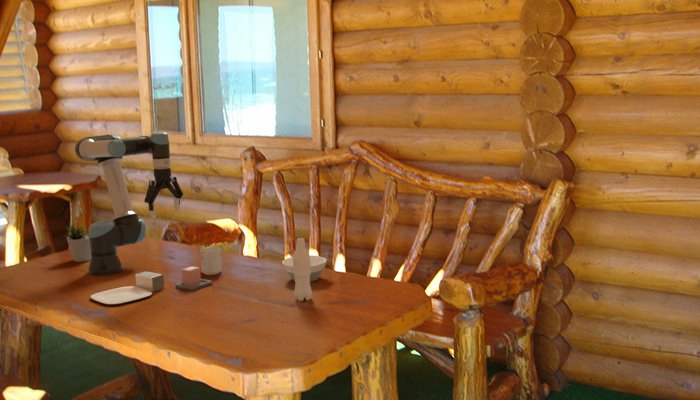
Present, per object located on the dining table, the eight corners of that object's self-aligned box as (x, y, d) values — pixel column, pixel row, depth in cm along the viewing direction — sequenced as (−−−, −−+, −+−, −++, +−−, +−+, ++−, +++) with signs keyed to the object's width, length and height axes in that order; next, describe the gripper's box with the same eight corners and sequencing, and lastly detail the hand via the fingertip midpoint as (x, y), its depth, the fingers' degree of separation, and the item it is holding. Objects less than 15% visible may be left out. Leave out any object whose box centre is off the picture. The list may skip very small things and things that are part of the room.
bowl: (301, 288, 346) (300, 269, 345) (274, 279, 361) (273, 261, 359) (336, 278, 359) (335, 260, 357) (308, 270, 373) (307, 253, 372)
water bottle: (314, 297, 332) (312, 237, 327) (308, 302, 325) (305, 241, 321) (298, 296, 334) (295, 236, 330) (291, 301, 327) (288, 240, 323)
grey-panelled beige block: (136, 287, 355) (135, 274, 353) (147, 284, 359) (146, 271, 358) (153, 291, 348) (152, 277, 347) (164, 288, 353) (163, 274, 352)
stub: (182, 285, 354) (181, 269, 353) (192, 281, 359) (191, 266, 358) (190, 286, 351) (189, 270, 350) (200, 283, 356) (199, 267, 355)
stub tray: (175, 287, 353) (175, 284, 352) (196, 281, 362) (196, 277, 362) (191, 291, 347) (191, 287, 347) (212, 284, 356) (212, 280, 356)
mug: (225, 272, 375) (223, 249, 373) (208, 276, 369) (206, 252, 367) (211, 268, 384) (210, 244, 382) (195, 271, 378) (193, 248, 377)
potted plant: (74, 256, 416) (70, 218, 412) (99, 256, 414) (96, 218, 410) (62, 263, 403) (58, 223, 400) (88, 263, 402) (84, 223, 398)
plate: (131, 288, 356) (131, 284, 356) (158, 297, 341) (157, 293, 341) (84, 299, 341) (84, 295, 341) (110, 309, 326) (110, 305, 326)
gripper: (145, 172, 349) (148, 220, 352) (189, 164, 368) (192, 211, 372) (133, 171, 353) (137, 219, 357) (177, 163, 373) (181, 209, 376)
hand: (165, 215), depth 364 cm, fingers open, 13 cm apart
